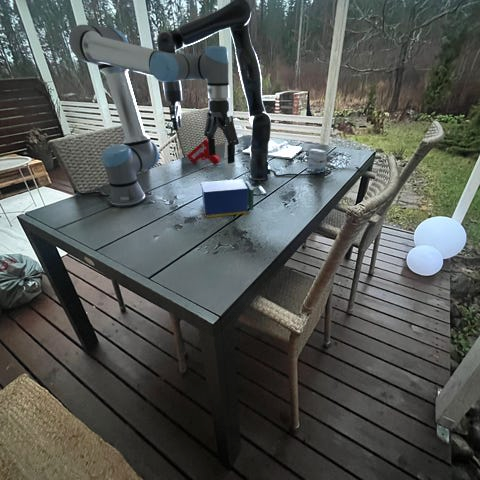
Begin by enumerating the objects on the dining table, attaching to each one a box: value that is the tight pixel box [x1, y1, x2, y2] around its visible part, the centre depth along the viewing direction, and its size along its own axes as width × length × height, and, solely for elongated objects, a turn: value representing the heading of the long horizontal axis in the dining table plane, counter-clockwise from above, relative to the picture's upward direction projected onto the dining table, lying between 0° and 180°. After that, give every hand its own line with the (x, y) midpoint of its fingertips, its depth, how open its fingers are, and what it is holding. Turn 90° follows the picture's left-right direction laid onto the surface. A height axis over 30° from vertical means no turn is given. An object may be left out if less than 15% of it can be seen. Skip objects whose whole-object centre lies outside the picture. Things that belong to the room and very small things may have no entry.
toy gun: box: [186, 138, 221, 166], centre depth 168 cm, size 18×4×15 cm
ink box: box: [306, 148, 328, 173], centre depth 153 cm, size 8×5×12 cm, turn 47°
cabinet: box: [200, 178, 249, 219], centre depth 113 cm, size 17×11×11 cm, turn 102°
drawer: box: [244, 180, 267, 211], centre depth 114 cm, size 22×10×9 cm, turn 102°
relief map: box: [242, 138, 304, 160], centre depth 192 cm, size 27×35×5 cm
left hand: (221, 158), depth 108 cm, fingers open, 13 cm apart
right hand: (177, 128), depth 128 cm, fingers open, 8 cm apart
